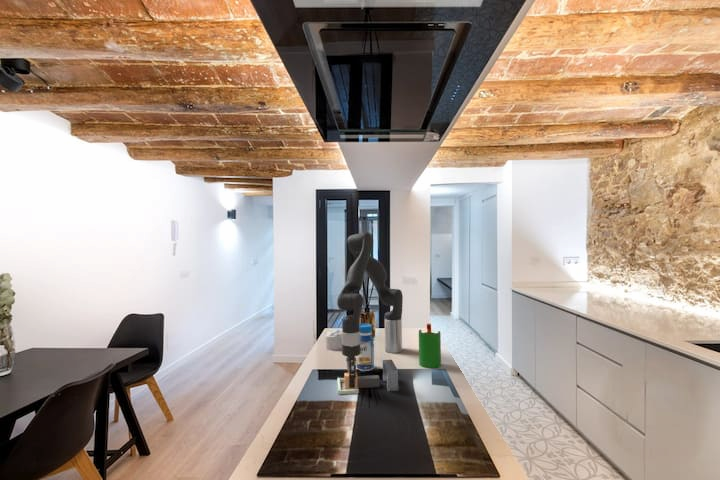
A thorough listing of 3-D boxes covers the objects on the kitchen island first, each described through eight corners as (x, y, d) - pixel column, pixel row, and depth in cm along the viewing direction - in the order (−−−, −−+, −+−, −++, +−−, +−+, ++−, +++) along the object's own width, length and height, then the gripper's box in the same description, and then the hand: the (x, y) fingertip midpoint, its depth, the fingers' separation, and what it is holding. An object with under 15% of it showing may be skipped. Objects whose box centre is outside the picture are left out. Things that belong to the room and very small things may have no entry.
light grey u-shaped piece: (337, 381, 138) (337, 377, 138) (356, 380, 139) (356, 376, 139) (338, 394, 126) (338, 390, 126) (358, 393, 127) (358, 389, 127)
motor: (439, 361, 159) (439, 320, 160) (442, 368, 150) (441, 325, 151) (418, 361, 160) (418, 320, 161) (420, 368, 151) (419, 324, 152)
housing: (388, 391, 128) (387, 370, 128) (382, 378, 140) (382, 360, 140) (398, 390, 128) (397, 370, 129) (392, 378, 140) (391, 359, 140)
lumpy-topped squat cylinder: (326, 344, 190) (326, 329, 190) (349, 343, 190) (348, 328, 191) (325, 350, 179) (325, 334, 179) (349, 349, 180) (349, 333, 180)
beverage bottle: (378, 368, 152) (377, 325, 152) (364, 373, 146) (363, 328, 147) (366, 363, 158) (366, 322, 158) (352, 367, 153) (352, 324, 153)
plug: (378, 383, 135) (378, 371, 135) (379, 387, 132) (379, 374, 132) (344, 385, 134) (344, 373, 134) (345, 389, 130) (344, 376, 131)
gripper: (341, 337, 139) (341, 378, 139) (342, 348, 125) (343, 393, 125) (358, 337, 140) (359, 377, 140) (362, 347, 126) (362, 392, 126)
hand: (351, 384), depth 132 cm, fingers closed on plug, 3 cm apart
